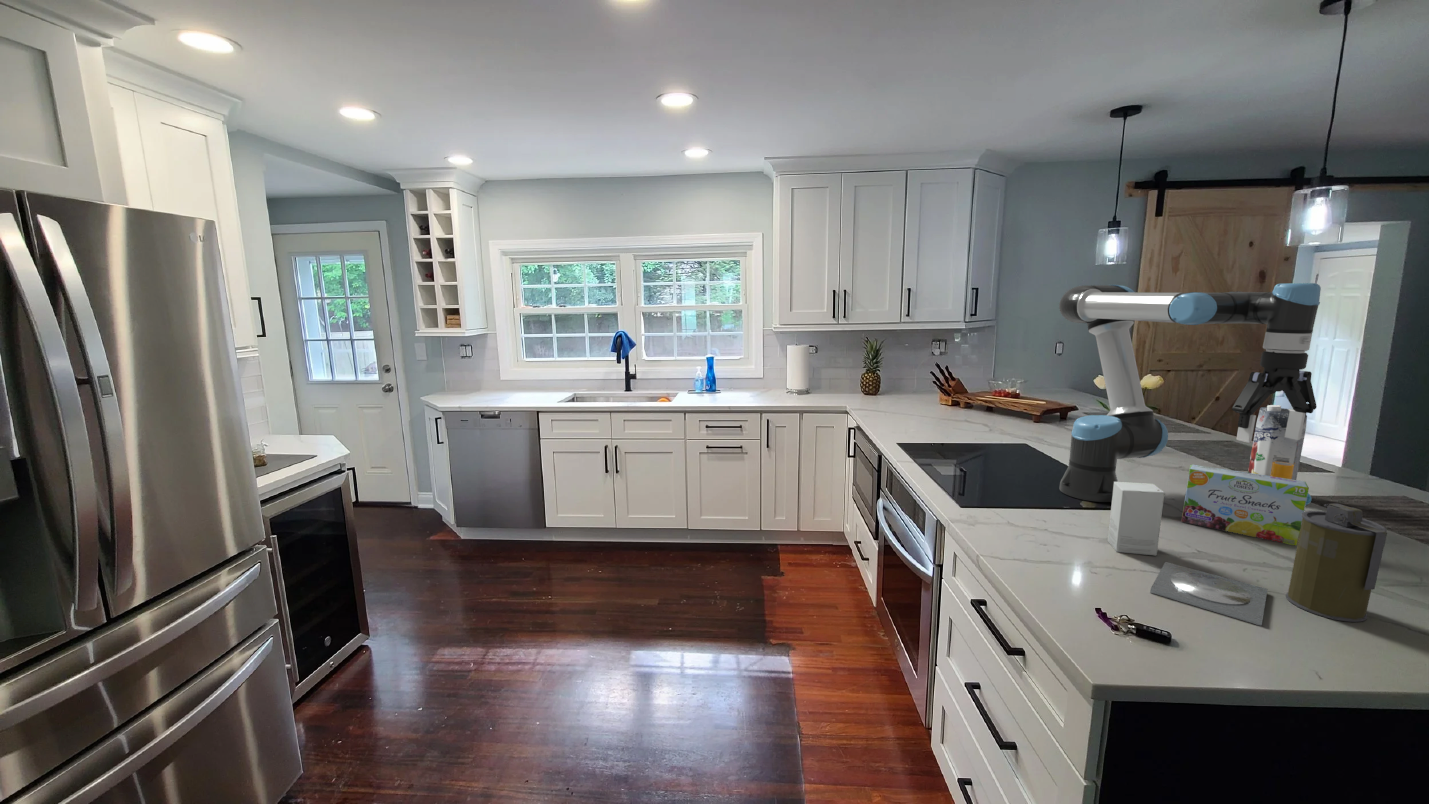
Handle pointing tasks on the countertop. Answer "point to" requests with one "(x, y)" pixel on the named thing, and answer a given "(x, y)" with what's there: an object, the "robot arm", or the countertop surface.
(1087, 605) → the countertop surface
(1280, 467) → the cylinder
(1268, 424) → the juice carton
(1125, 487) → the skincare box
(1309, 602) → the canister
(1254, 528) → the snack box
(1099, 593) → the countertop surface
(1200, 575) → the flange plate
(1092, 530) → the countertop surface
